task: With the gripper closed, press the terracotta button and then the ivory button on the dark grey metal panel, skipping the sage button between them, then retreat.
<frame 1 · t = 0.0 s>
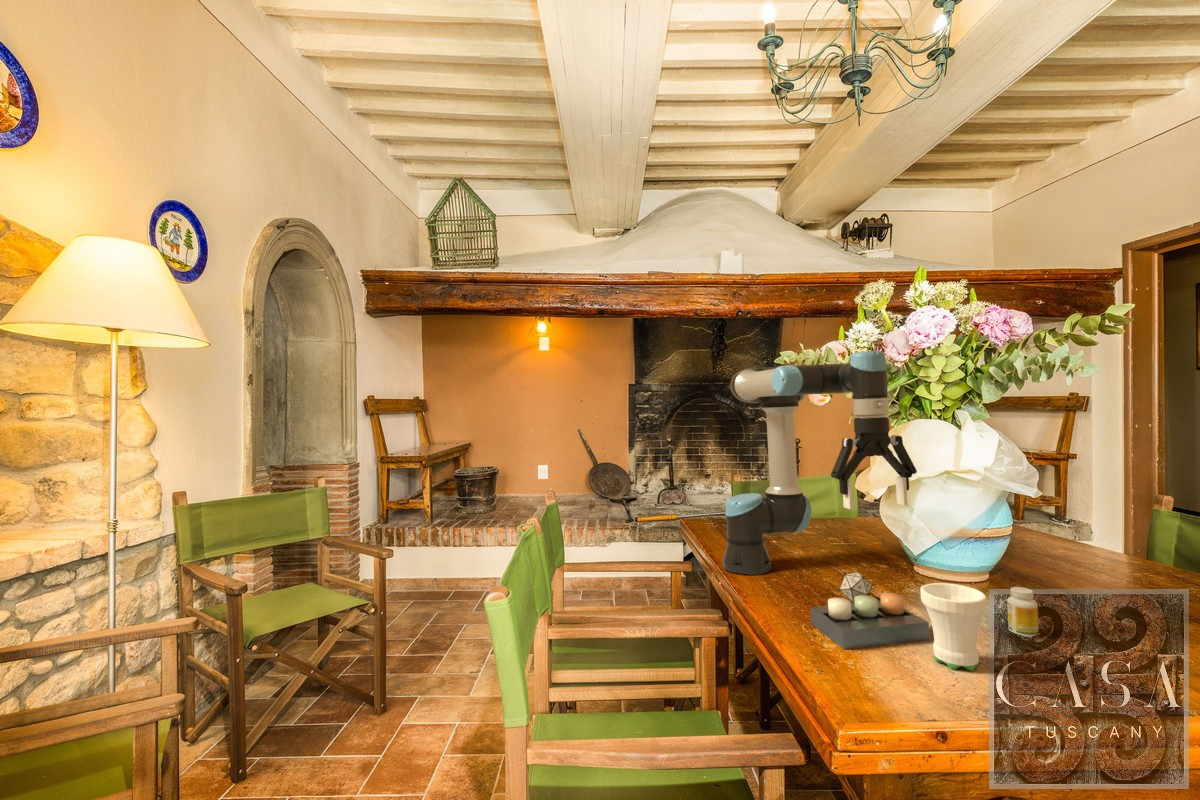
hand: (875, 506, 128), 28 cm above the table, fingers open, 13 cm apart
ivory button: (839, 608, 124), point 6 cm above the table, slide at 0.0 cm
terracotta button: (892, 603, 126), point 6 cm above the table, slide at 0.0 cm
cup: (956, 663, 109), on the table
supplement bottle: (1023, 633, 121), on the table
panel: (867, 631, 125), on the table
game die: (856, 603, 143), on the table
sage button: (866, 605, 125), point 6 cm above the table, slide at 0.0 cm
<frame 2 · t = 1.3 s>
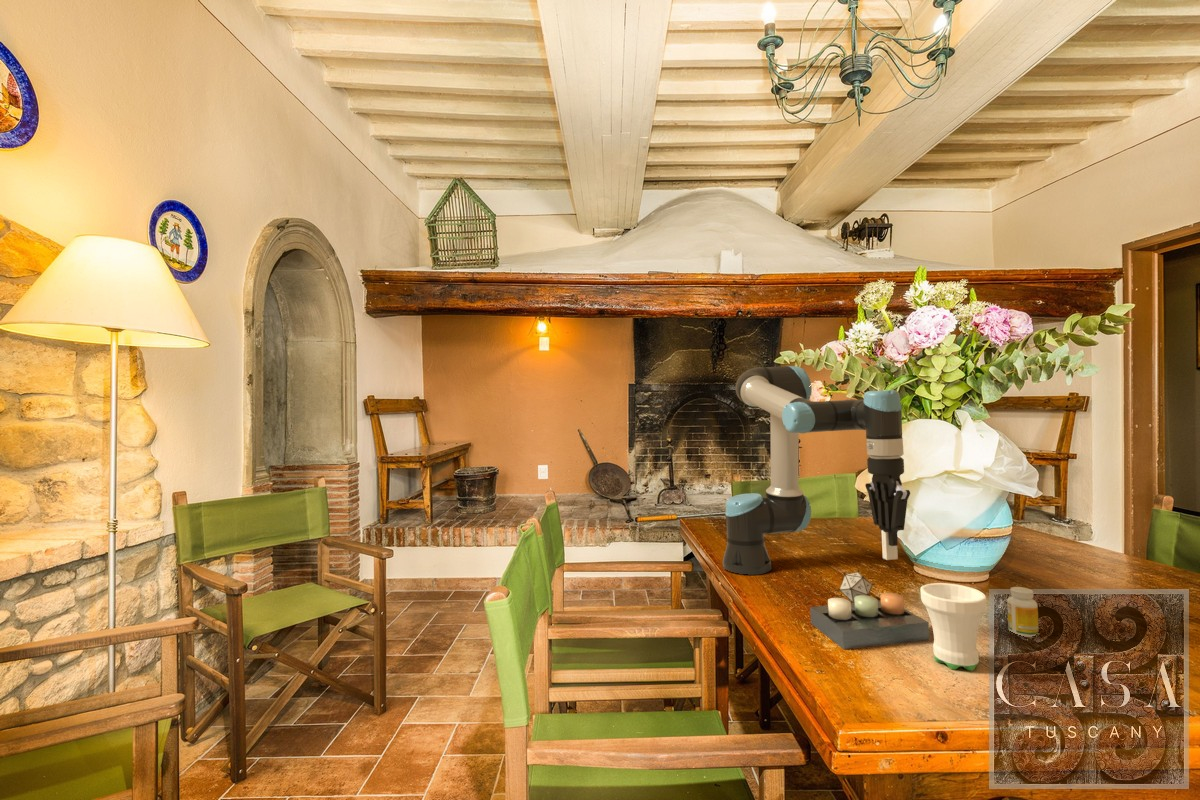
hand: (890, 558, 126), 16 cm above the table, fingers closed
nothing on the table moved.
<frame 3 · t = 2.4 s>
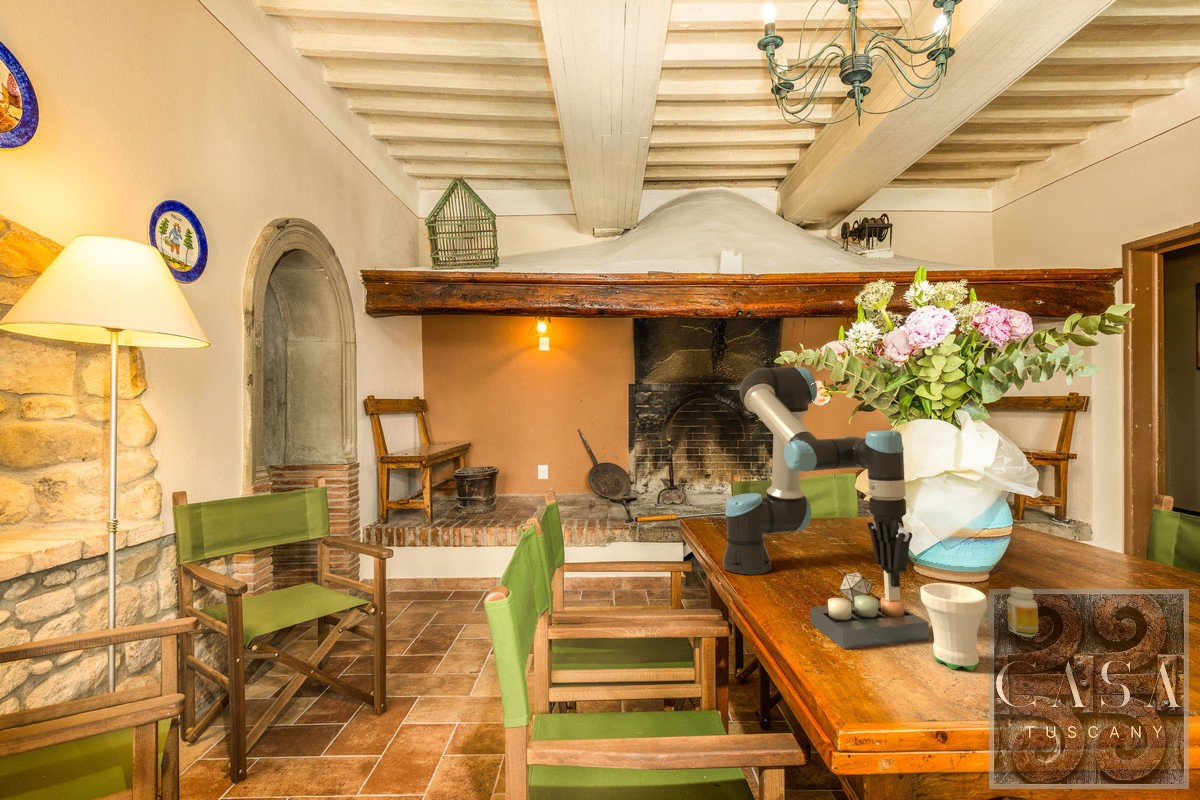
hand: (892, 599, 126), 7 cm above the table, fingers closed
terracotta button: (892, 607, 126), point 5 cm above the table, slide at 0.8 cm, touching gripper
everything else where it was.
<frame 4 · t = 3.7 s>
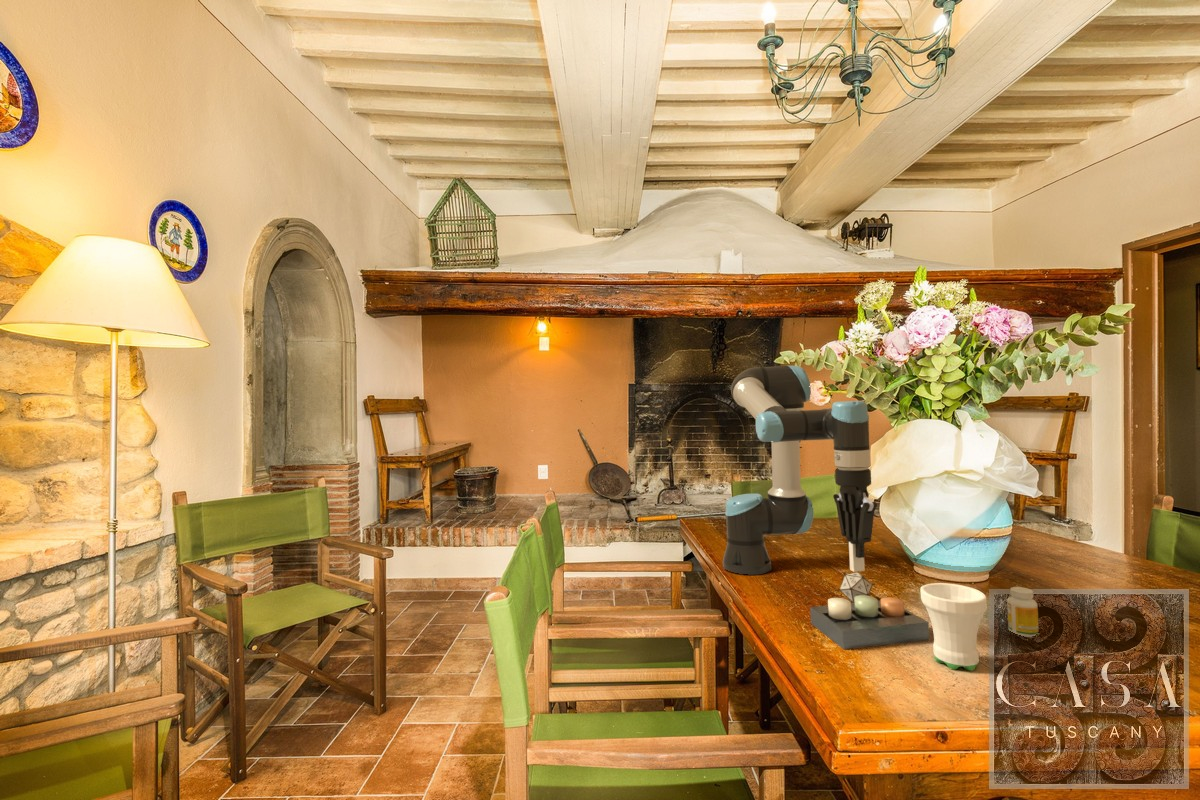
hand: (857, 570, 125), 14 cm above the table, fingers closed
terracotta button: (892, 607, 126), point 5 cm above the table, slide at 1.0 cm
everything else where it was.
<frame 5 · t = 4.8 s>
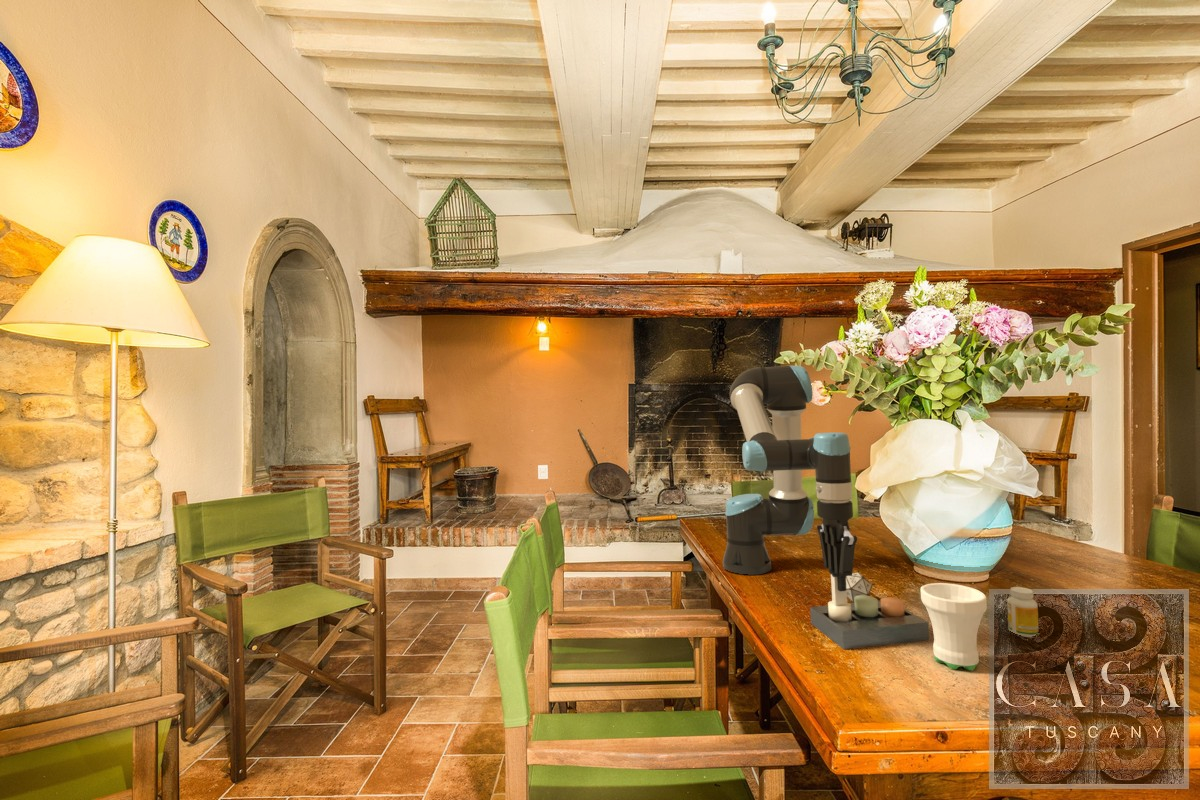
hand: (839, 603, 124), 7 cm above the table, fingers closed
ivory button: (839, 611, 124), point 5 cm above the table, slide at 0.6 cm, touching gripper
everything else where it was.
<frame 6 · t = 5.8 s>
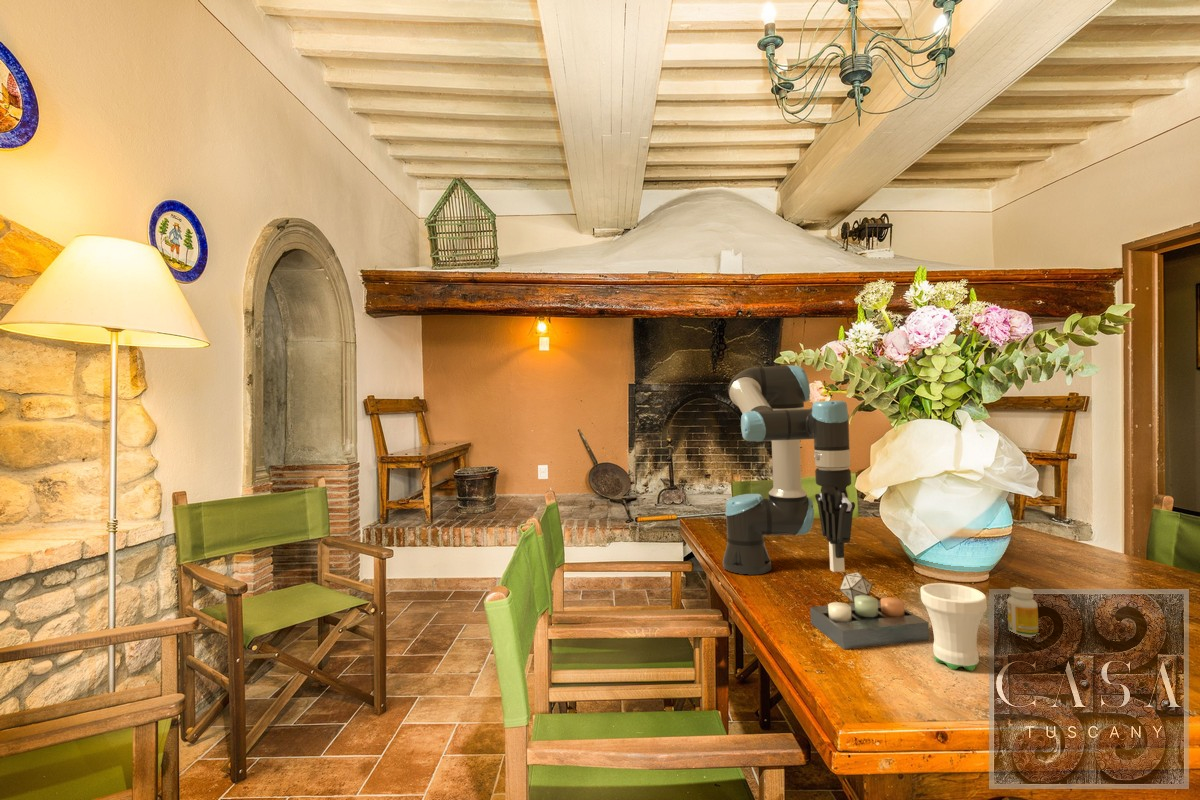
hand: (837, 570, 125), 14 cm above the table, fingers closed
ivory button: (839, 613, 124), point 5 cm above the table, slide at 1.0 cm
everything else where it was.
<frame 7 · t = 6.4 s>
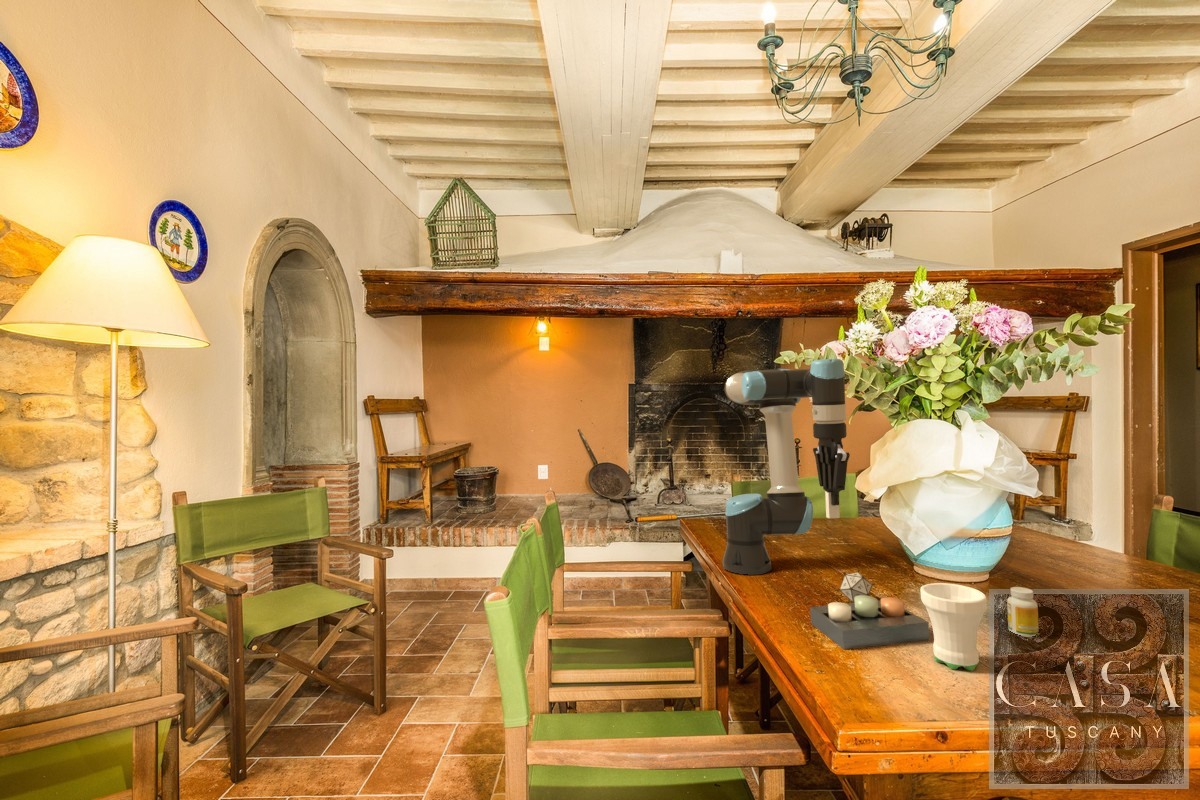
hand: (832, 517, 134), 25 cm above the table, fingers closed
nothing on the table moved.
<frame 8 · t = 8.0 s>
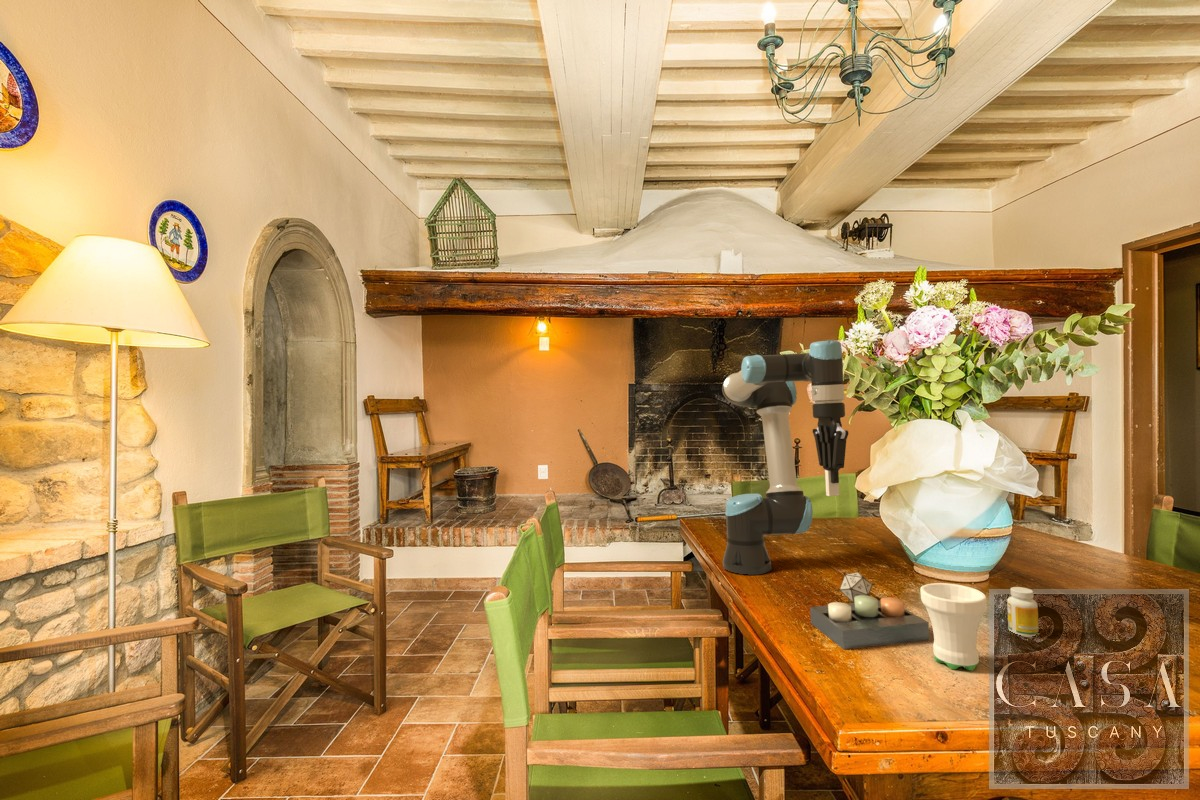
hand: (832, 495, 137), 29 cm above the table, fingers closed
nothing on the table moved.
at the end: terracotta button slide at 1.0 cm; ivory button slide at 1.0 cm; sage button slide at 0.0 cm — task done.
